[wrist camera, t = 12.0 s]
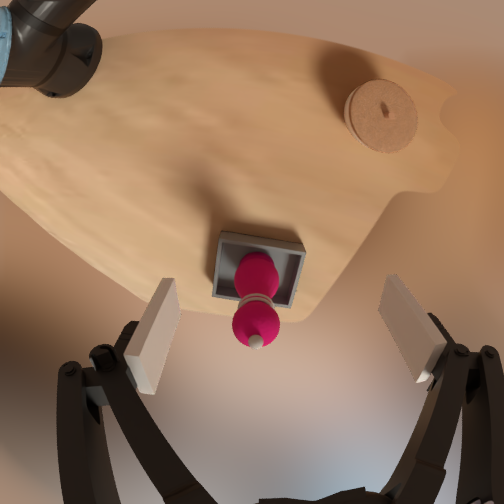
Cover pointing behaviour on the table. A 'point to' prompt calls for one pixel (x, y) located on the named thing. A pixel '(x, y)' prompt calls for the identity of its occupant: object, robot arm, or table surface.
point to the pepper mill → (256, 300)
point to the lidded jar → (381, 116)
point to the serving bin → (282, 252)
